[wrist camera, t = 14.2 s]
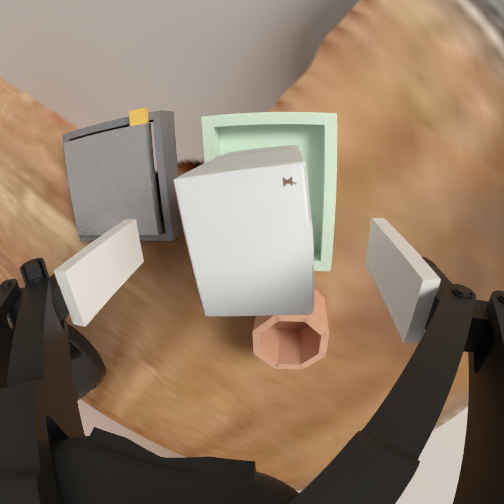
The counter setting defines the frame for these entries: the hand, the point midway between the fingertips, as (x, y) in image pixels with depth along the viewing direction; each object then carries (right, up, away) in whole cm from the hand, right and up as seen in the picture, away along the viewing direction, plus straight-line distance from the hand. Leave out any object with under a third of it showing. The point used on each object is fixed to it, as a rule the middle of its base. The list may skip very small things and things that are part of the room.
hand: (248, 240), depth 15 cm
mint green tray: (+2, +5, +11) cm, 12 cm away
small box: (+2, +5, +10) cm, 12 cm away
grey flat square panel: (-13, +6, +9) cm, 17 cm away
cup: (+5, -7, +16) cm, 18 cm away
